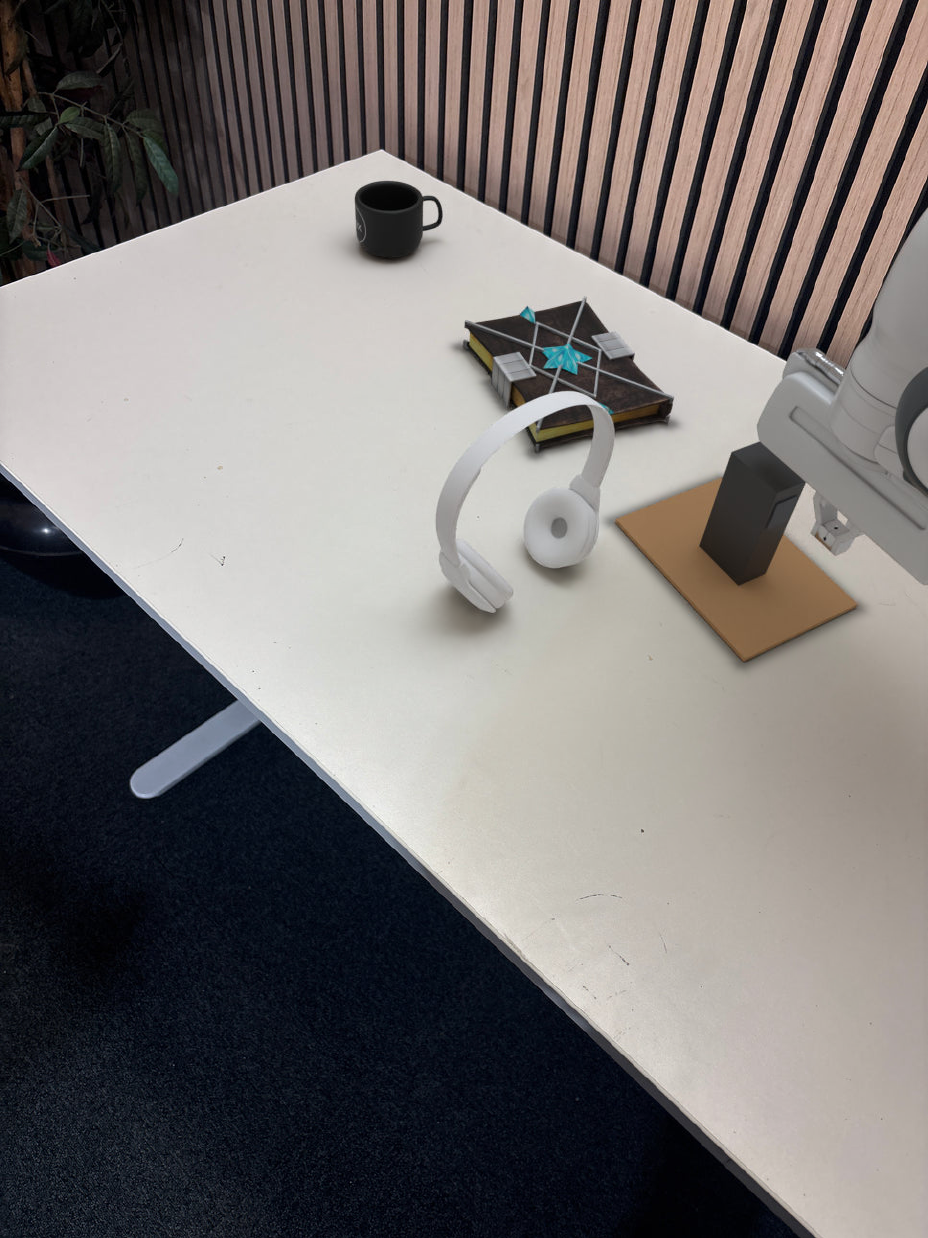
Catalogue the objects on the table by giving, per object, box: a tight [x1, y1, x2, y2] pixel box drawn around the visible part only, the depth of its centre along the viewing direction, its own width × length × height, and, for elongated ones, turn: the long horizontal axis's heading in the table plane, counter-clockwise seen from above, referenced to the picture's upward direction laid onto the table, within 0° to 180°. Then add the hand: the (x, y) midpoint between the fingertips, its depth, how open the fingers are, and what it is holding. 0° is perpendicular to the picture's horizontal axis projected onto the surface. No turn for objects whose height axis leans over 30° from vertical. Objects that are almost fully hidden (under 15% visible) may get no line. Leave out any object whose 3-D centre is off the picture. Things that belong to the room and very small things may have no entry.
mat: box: [614, 476, 858, 662], centre depth 90 cm, size 20×14×1 cm
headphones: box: [435, 391, 616, 614], centre depth 80 cm, size 7×18×20 cm, turn 128°
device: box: [699, 440, 807, 586], centre depth 85 cm, size 6×4×12 cm, turn 29°
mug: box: [354, 180, 444, 258], centre depth 123 cm, size 12×9×7 cm
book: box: [462, 295, 675, 452], centre depth 105 cm, size 22×17×5 cm
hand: (828, 542), depth 77 cm, fingers closed
